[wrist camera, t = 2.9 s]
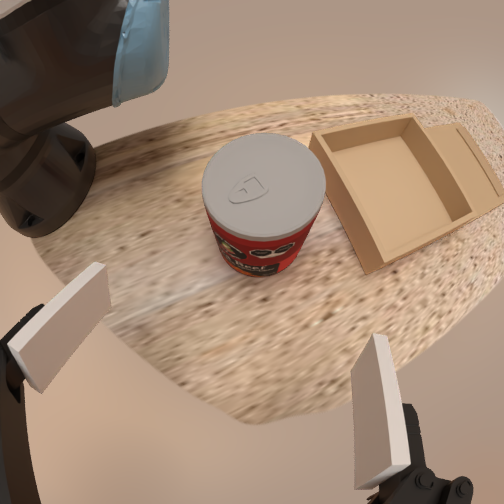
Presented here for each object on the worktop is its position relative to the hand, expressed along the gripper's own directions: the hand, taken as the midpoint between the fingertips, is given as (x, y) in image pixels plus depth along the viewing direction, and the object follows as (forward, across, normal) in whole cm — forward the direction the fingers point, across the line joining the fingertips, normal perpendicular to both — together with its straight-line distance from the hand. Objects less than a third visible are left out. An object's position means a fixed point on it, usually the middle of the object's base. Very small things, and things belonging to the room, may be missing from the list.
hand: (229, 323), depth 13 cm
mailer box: (+25, +18, +6) cm, 31 cm away
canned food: (+16, 0, -3) cm, 16 cm away
